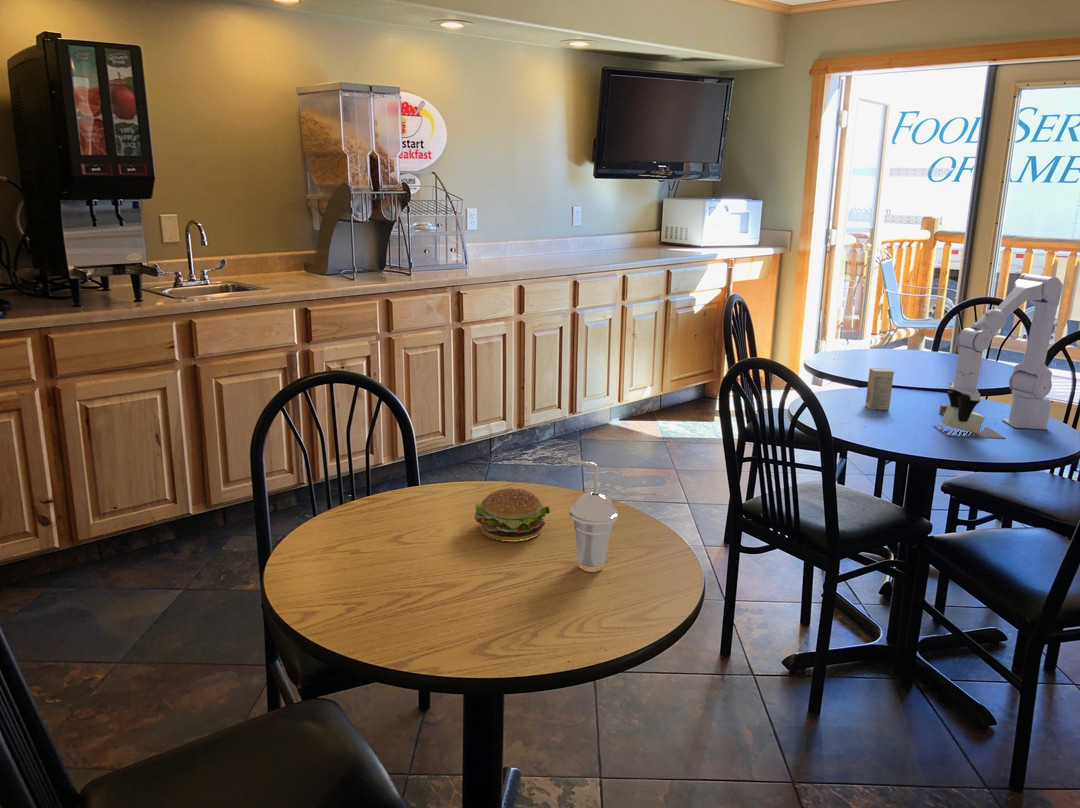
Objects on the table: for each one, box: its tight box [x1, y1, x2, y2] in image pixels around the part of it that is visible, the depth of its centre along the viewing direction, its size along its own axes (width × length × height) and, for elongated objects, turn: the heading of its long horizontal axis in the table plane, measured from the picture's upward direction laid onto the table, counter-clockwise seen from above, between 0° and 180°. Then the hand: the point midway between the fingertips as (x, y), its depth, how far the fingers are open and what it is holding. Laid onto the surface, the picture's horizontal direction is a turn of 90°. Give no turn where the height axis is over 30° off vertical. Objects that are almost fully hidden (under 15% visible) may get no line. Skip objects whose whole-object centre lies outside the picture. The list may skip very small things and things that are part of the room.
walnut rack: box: [939, 404, 974, 414], centre depth 251 cm, size 7×7×2 cm
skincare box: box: [864, 367, 895, 411], centre depth 256 cm, size 6×4×12 cm
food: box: [474, 487, 551, 541], centre depth 159 cm, size 14×14×8 cm
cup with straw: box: [565, 457, 619, 567], centre depth 144 cm, size 8×9×20 cm
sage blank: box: [941, 405, 986, 434], centre depth 235 cm, size 9×4×5 cm, turn 88°
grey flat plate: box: [933, 424, 1006, 440], centre depth 236 cm, size 16×10×1 cm, turn 88°
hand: (959, 418), depth 235 cm, fingers closed on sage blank, 4 cm apart
